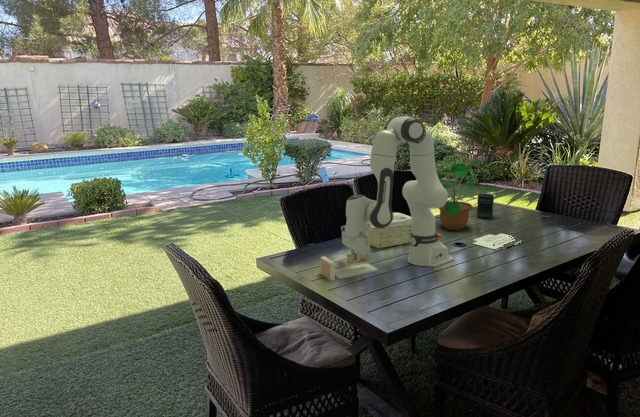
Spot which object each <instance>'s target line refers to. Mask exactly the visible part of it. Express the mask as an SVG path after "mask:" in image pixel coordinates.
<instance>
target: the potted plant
mask: <svg viewBox="0 0 640 417" xmlns="http://www.w3.org/2000/svg"><path fill="white" fill-rule="evenodd" d="M443 167H446V168H451V171H450V170H443V171H442V172H441V173H440V174H437V175H438V178H439V180H443V179H444V184H442V186H443V187H444V188H445V189H446V191H447V193H448V196H450V198H452V199H453V200H451V201H450V200H449V199H447V202H446V204H445V205H444V206H442V207H440V208H438V209H439V220H440V222H441V225H442V226H443V227H444V228H445V229H446V230H448V231H461V230H463V228H464V227H465V226H466V225H467V224H468V221H469V218H470V217H469V215H470V214H469V213H470V212H471V210H472V209H473V204H471V203H469V202H465V201H459V199H460V198H461V197H462V194H463V193H464V191H465V189H466V187H467V185H469V187H470V188H473V187H474V186H475V182H474V176H473V175H472V174H473V173H474V174H476V172H475V171H474V170H473V169H471V168H467V166H466V165H464V164H462V163H456V164H452V163H448V164H443V165H441V166H440V168H443ZM450 172H452V173H453V174H454V175H455V179H454V183H456V180H457V178H461V179H460V182H459V183H458V186H457V189H456V184H452V183H451V182H450V181H451V180H450ZM468 172H470V173H469V176H468V179H467V180H468V181H467V183H466V184H465V187H464V189H462V192H461V194H460V195H459V196H458V198H457V199H456V194H457V192H458V189H459V186H460V185H461V182H462V180H463V178H464V176H466V175H467V173H468ZM471 172H473V173H471ZM453 186H454V187H453ZM448 189H449V190H448Z"/></svg>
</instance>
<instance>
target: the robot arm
mask: <svg viewBox="0 0 640 417" xmlns="http://www.w3.org/2000/svg"><path fill="white" fill-rule="evenodd" d="M401 142H406V143H407V144H408V146H409V160H410V162H409V163H410V164H409V165H410V171H411V173H412V174H413V175H414V177H415V180H408V181H406V182H405V183H404V185H403V186H402V189H401V190H402V191H401V193H402V196H403V198H404V199H405V200H406V202H407V205H408V208H409V212H410V217H411V218H412V232H411V237H410V240H411V242H410V248H409V254H408V257H407V262H408V263H410V264H412V265H414V266H418V267H419V266H420V267H431V268H437V267H439V266H441V265H445V264H447V263H451V262H453V261H454V257H453V256H452V255H450V254H449V252H450V251H449V248H448V246H446V245H445V244H444V243H442V242H441V241H440V240H439V239H442V238H443V234H441V233H437V232H436V217H435V214H433V212H432V210H431V208H432V209H439V208H440V207H442V206H444V205H445V204H446V202H447V201H448V200H449V199H448V198H449V193H448V191H447V188H445V187H444V186H443V184H442V183H441V181H440V180H441V179H440V180H439V178H438V175H439V174H437V173H438V172H437V169H436V158H435V156H436V155H435V146H434V138H433V135H432V132H431V131H430V130H428V129H426V128H425V126H424V124H423V122H422V121H421V120H420V119H419V118H417V117H411V116H408V115H404V116H394V117H391V118H390V119H389V120H388V121H387V122H386V124H385V127H384V128H383V129H382V130H379V131H377V133H376V134H375V136H374V140H373V143H372V147H371V152H370V161H369V163H370V164H369V167H370V170H371V172H372V173H373V174H374V176H375V178H376V180H377V194H376V200H375V199H374V200H373V199H370V198H368V197H366V196H365V195H363V194H353V195H350V197H348V198H347V200H346V205H345V217H346V223H345V225H343V226H340V229H341V242H342V244H343V245H344V246H346V247H347V248H349V251H350V254H354V253H357V256H356V260H357V261H360V260H361V255H363V256H365V255H368V256H369V255H370V254H371V245H370V242H369V239H368V238H367V236H366V235H365V234H366V222H367V221H370V222H371V223H372V224H373V225H374V226H375V227H376V228H385V227H387V226H388V225H390V223H391V222H392V220H393V213H394V212H393V208H392V200H393V191H394V190H393V189H394V171H395V164H396V156H397V149H398V147H399V146H400V144H401Z"/></svg>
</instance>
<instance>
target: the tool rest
mask: <svg viewBox="0 0 640 417" xmlns="http://www.w3.org/2000/svg"><path fill="white" fill-rule="evenodd" d="M378 270H379V269H378V268H377V267H375V266H373V265H371V264H370V263H368V262H367V263H363V264H358V265H351V266H346V267H340V268H335V278H337V279H338V280H342V279H346V278H347V279H348V278H352V277H356V276H361V275H365V274H370V273H376V272H378Z"/></svg>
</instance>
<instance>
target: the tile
mask: <svg viewBox="0 0 640 417" xmlns="http://www.w3.org/2000/svg"><path fill="white" fill-rule="evenodd" d="M335 270H336V267H335V261H332V260H331V259H329V258H328V257H327V256H324V255H323V256H321V257H320V273H321V274H322V275H323V276H324V277H325V278H327V279H328V280H329V281H335V280H336V276H335Z"/></svg>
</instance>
